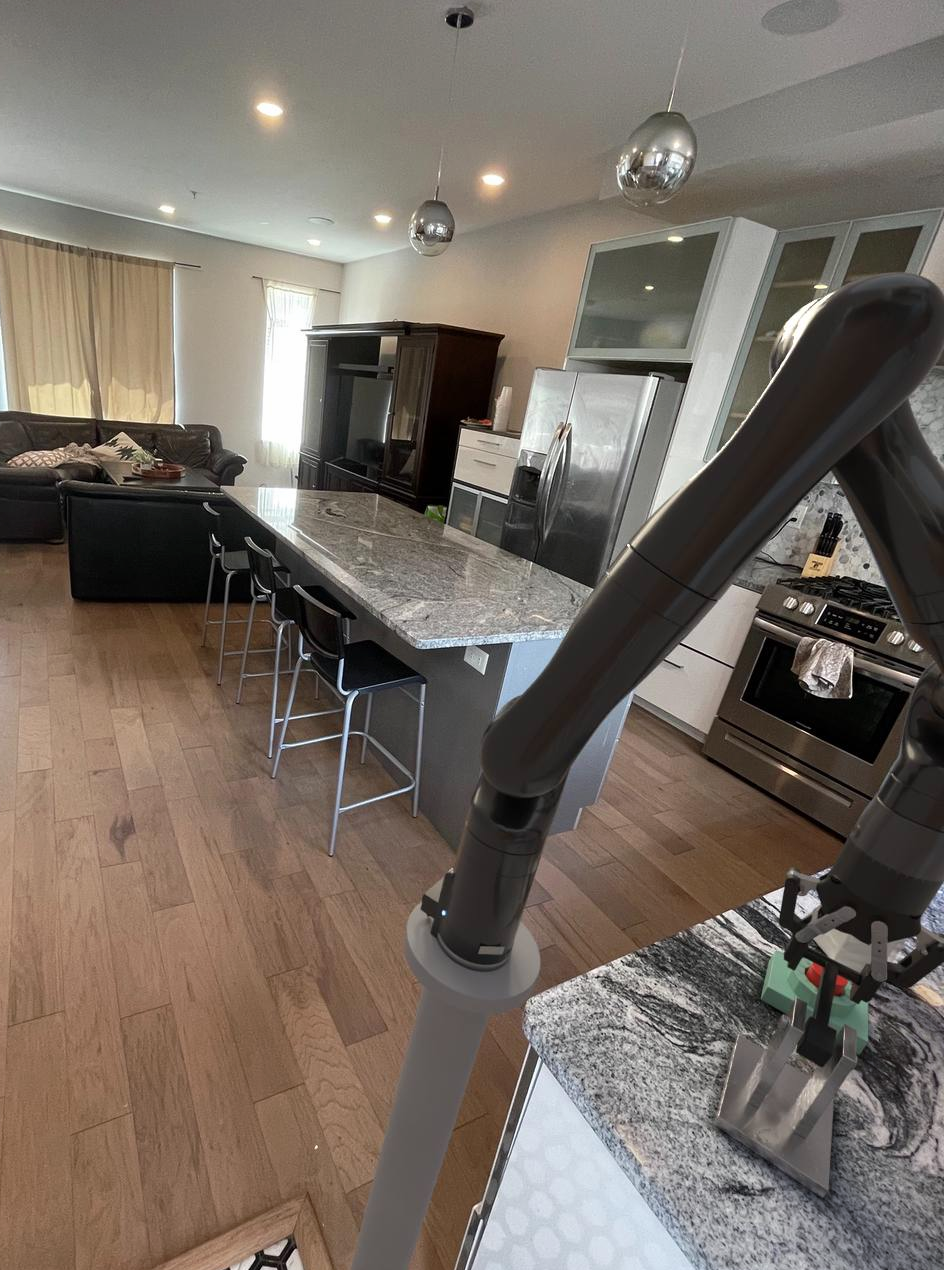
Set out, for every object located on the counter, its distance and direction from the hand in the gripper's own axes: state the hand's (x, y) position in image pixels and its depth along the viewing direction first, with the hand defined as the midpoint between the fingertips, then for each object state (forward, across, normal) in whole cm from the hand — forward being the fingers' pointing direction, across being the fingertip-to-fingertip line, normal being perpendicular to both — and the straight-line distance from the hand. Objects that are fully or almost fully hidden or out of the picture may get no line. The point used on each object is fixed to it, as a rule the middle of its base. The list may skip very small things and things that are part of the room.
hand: (821, 980), depth 66 cm
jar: (+10, -6, -24) cm, 27 cm away
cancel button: (+6, -2, -9) cm, 11 cm away
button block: (+10, -2, -9) cm, 14 cm away
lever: (0, 0, +5) cm, 5 cm away
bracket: (+10, 0, +10) cm, 14 cm away
